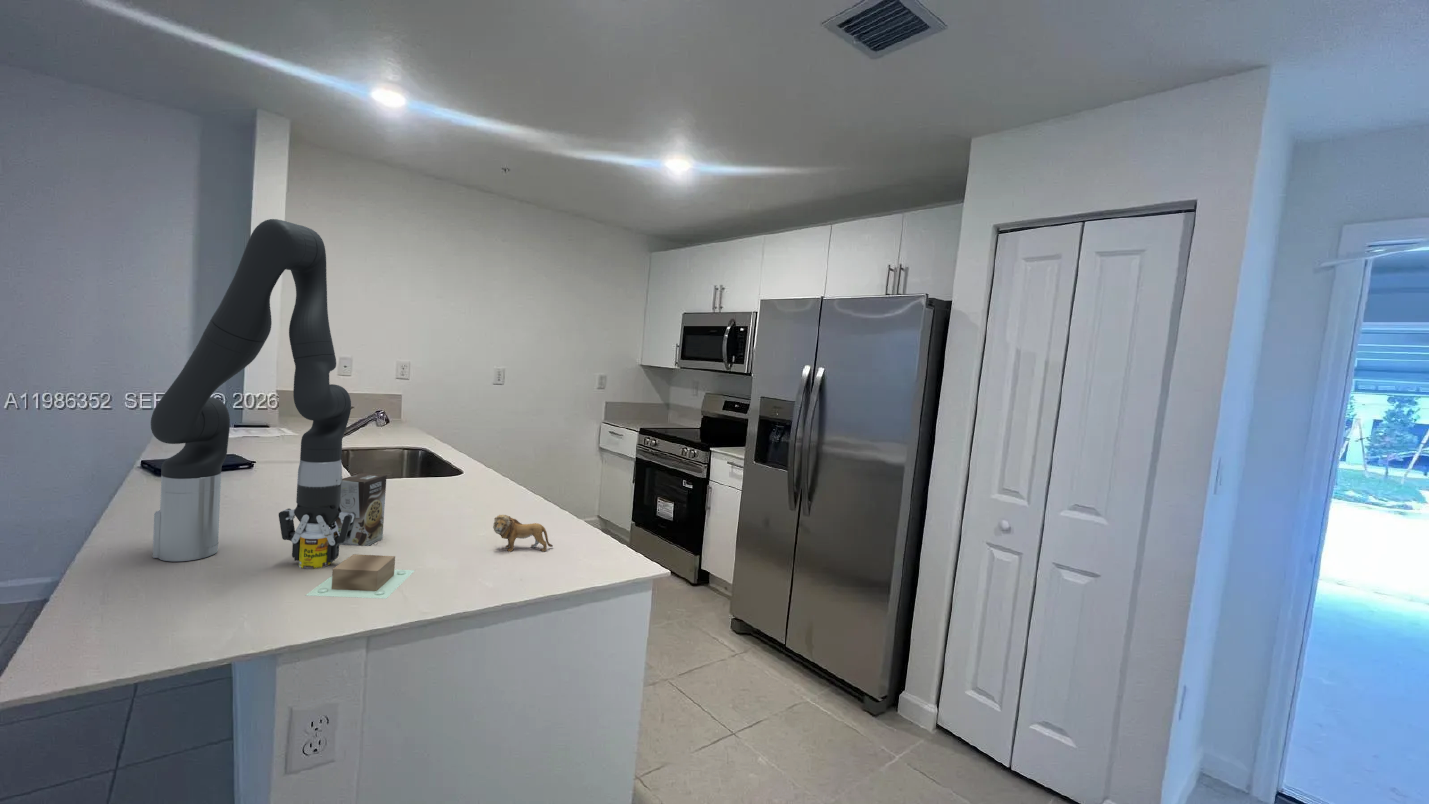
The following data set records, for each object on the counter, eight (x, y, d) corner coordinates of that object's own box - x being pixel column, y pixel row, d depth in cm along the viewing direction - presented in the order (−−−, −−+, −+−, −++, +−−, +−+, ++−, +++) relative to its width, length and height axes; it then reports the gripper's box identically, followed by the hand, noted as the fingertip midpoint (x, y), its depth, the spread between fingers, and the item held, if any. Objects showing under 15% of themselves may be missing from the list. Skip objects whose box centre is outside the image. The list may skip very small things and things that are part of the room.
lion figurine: (491, 554, 137) (494, 518, 136) (490, 547, 142) (493, 511, 141) (554, 551, 143) (557, 516, 142) (551, 544, 148) (553, 511, 147)
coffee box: (360, 550, 130) (364, 482, 129) (332, 547, 131) (336, 479, 129) (384, 538, 140) (388, 474, 138) (358, 535, 140) (362, 471, 139)
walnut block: (331, 589, 108) (332, 568, 107) (352, 573, 115) (353, 554, 115) (376, 591, 109) (377, 570, 108) (394, 575, 117) (395, 556, 116)
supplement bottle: (297, 576, 114) (300, 526, 114) (299, 566, 119) (301, 518, 118) (330, 572, 117) (333, 524, 117) (331, 563, 122) (333, 517, 121)
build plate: (304, 601, 104) (305, 593, 104) (343, 572, 118) (343, 565, 118) (386, 604, 106) (386, 596, 106) (414, 575, 120) (415, 568, 120)
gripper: (270, 482, 112) (266, 565, 113) (348, 487, 114) (343, 568, 115) (292, 474, 120) (288, 552, 121) (365, 479, 122) (361, 555, 123)
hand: (315, 560), depth 118 cm, fingers closed on supplement bottle, 5 cm apart
